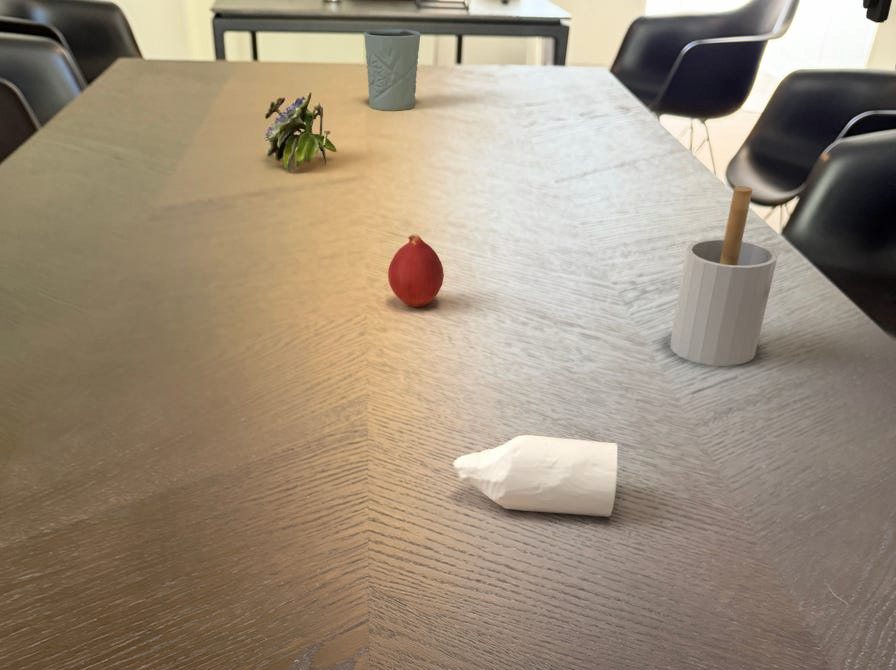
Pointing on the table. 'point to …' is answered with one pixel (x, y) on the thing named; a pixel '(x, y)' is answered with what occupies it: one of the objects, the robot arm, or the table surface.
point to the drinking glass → (392, 68)
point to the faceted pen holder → (722, 303)
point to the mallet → (735, 225)
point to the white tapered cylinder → (546, 475)
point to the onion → (415, 273)
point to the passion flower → (287, 142)
